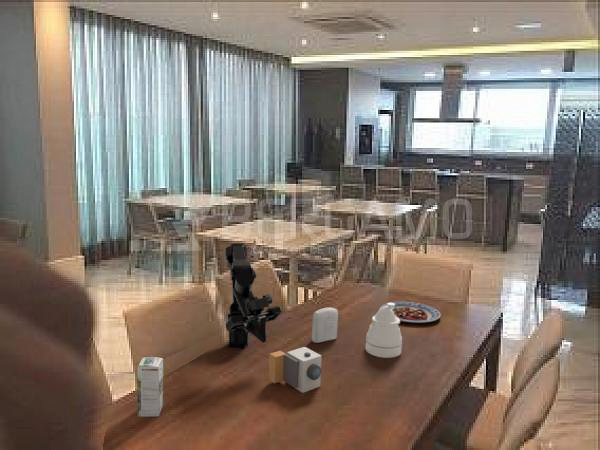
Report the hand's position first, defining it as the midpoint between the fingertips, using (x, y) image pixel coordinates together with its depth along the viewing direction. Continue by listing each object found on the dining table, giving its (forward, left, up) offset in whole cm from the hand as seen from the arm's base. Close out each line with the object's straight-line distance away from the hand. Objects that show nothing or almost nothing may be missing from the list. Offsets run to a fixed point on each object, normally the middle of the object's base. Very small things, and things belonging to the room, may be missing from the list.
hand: (264, 342), depth 158 cm
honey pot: (+37, +29, -11) cm, 48 cm away
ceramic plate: (+48, +69, -11) cm, 85 cm away
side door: (+8, -6, -10) cm, 14 cm away
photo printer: (+15, +33, -11) cm, 38 cm away
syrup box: (-25, -28, -11) cm, 39 cm away
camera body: (+13, -4, -11) cm, 18 cm away
